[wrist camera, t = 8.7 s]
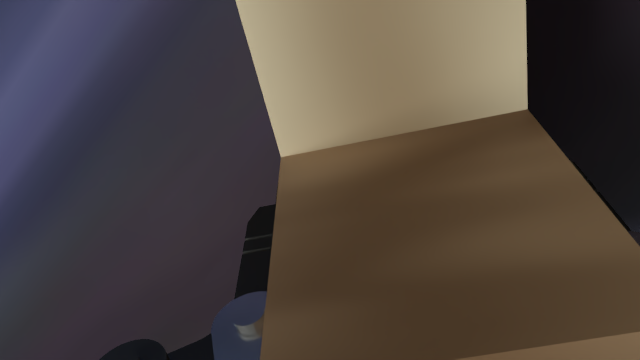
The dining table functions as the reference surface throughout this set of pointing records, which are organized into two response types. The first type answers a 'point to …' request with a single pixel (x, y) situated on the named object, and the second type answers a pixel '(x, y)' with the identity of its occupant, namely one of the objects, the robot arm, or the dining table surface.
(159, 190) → the dining table surface
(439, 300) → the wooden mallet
